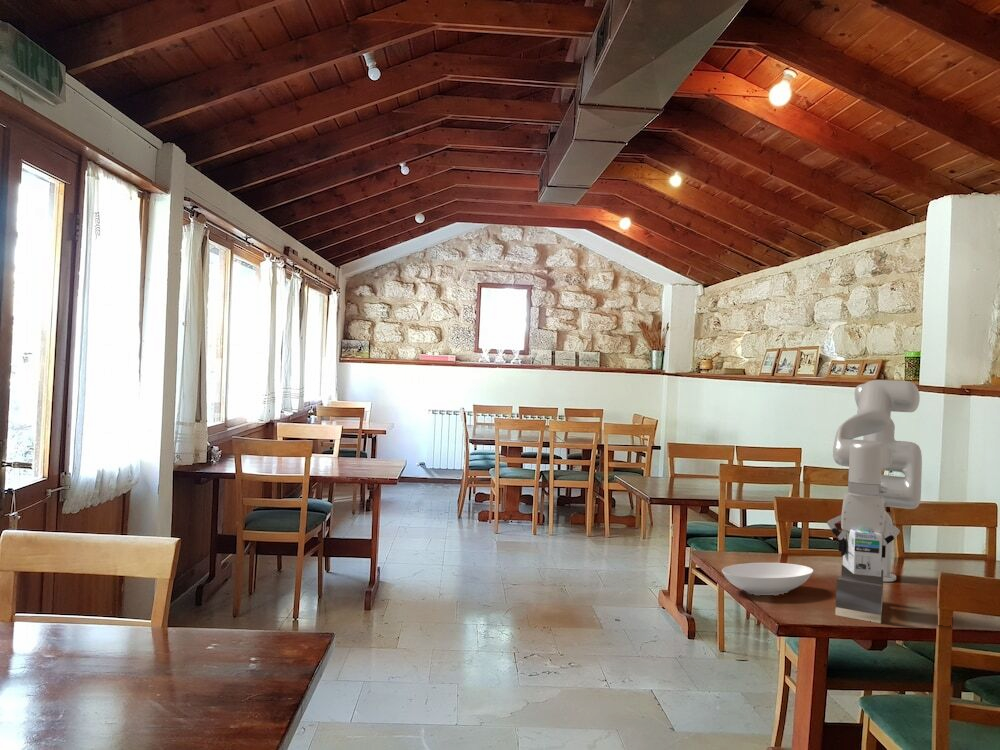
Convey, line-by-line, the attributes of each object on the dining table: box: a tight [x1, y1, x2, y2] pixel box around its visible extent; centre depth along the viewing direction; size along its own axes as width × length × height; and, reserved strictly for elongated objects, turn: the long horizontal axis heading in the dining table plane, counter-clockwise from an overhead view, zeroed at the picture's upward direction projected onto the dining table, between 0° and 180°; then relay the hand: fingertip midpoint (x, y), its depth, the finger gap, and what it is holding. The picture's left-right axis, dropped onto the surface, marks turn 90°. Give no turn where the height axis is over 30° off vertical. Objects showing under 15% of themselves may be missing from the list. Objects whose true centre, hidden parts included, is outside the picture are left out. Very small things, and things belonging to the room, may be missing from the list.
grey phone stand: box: [834, 563, 884, 624], centre depth 181 cm, size 20×10×9 cm, turn 150°
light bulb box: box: [842, 530, 882, 577], centre depth 182 cm, size 11×7×11 cm, turn 168°
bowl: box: [721, 562, 814, 596], centre depth 194 cm, size 30×15×6 cm, turn 114°
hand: (861, 557), depth 182 cm, fingers closed on light bulb box, 8 cm apart
